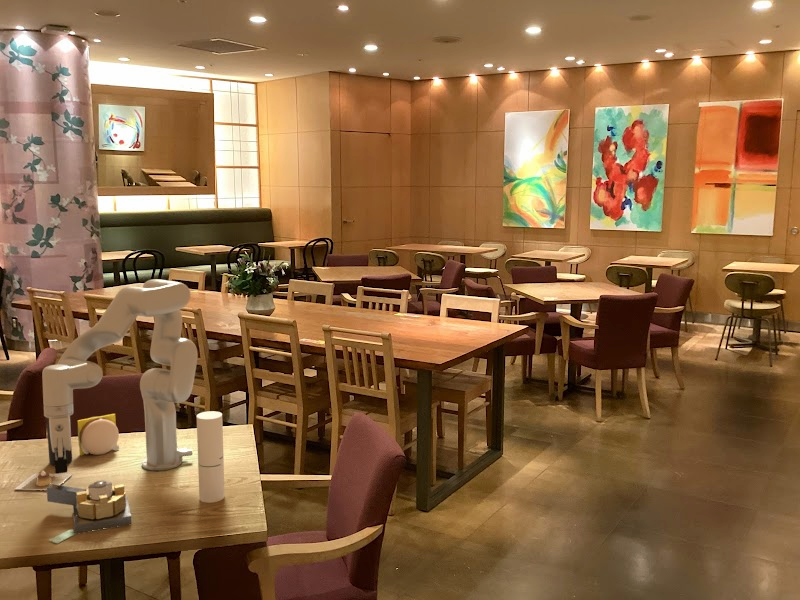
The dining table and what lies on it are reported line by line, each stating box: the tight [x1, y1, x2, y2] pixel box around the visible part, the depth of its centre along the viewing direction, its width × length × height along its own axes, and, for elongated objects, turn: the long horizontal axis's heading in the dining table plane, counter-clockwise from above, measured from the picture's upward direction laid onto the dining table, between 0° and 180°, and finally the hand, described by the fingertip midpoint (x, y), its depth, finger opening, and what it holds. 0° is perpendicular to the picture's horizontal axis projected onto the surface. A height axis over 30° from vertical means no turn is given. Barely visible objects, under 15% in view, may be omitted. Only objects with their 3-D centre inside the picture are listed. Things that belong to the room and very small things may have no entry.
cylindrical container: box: [196, 410, 226, 504], centre depth 216 cm, size 7×7×25 cm
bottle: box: [46, 417, 73, 466], centre depth 242 cm, size 7×7×20 cm
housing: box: [48, 480, 132, 545], centre depth 201 cm, size 20×18×10 cm
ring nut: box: [46, 483, 126, 519], centre depth 205 cm, size 22×12×6 cm, turn 74°
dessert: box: [14, 470, 73, 492], centre depth 227 cm, size 12×12×5 cm
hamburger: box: [77, 413, 120, 456], centre depth 251 cm, size 12×8×12 cm
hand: (61, 471), depth 212 cm, fingers closed
